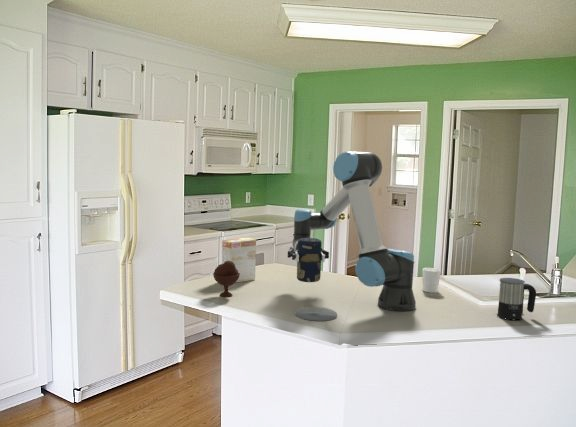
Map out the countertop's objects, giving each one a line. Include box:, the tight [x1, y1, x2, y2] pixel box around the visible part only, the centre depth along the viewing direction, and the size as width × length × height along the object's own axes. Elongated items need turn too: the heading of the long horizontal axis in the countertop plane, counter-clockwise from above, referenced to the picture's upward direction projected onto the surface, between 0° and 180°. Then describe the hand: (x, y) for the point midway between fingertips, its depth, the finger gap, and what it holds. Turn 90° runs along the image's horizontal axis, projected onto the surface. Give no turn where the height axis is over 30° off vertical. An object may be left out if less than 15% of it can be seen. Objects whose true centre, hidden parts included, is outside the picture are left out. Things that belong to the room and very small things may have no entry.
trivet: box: [294, 306, 338, 322], centre depth 207 cm, size 16×16×1 cm
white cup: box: [421, 267, 441, 294], centre depth 250 cm, size 8×8×10 cm
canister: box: [296, 236, 323, 283], centre depth 218 cm, size 10×10×18 cm
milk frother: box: [496, 277, 537, 320], centre depth 217 cm, size 14×16×15 cm
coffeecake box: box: [221, 237, 257, 284], centre depth 255 cm, size 15×7×20 cm, turn 130°
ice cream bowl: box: [212, 261, 240, 298], centre depth 229 cm, size 11×11×15 cm
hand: (310, 258), depth 213 cm, fingers closed on canister, 9 cm apart
